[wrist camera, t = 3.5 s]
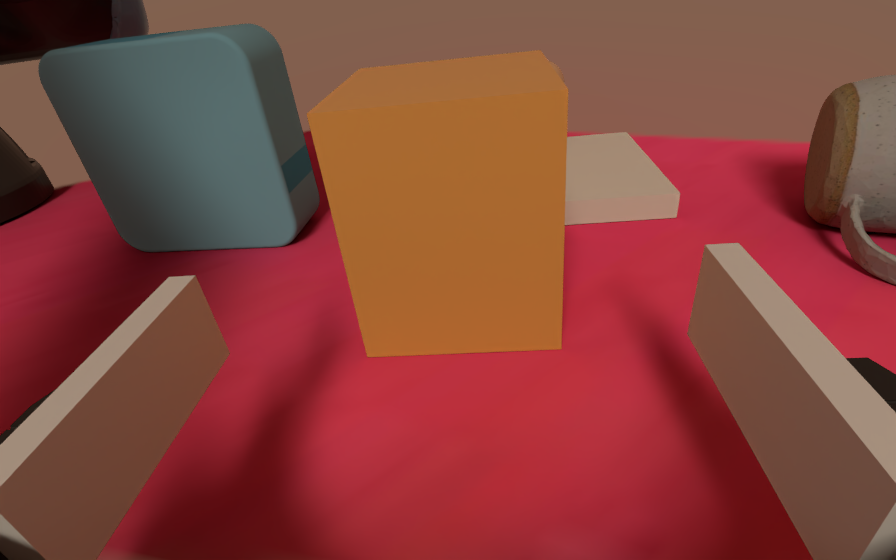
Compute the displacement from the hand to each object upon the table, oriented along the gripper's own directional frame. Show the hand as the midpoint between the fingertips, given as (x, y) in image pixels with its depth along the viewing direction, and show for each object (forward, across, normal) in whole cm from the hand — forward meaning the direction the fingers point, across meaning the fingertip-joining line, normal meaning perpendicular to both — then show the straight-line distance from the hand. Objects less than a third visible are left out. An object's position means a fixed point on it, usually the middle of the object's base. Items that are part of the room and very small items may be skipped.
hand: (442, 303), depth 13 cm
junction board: (+22, +3, -6) cm, 23 cm away
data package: (+18, -16, -6) cm, 25 cm away
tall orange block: (+9, 0, -6) cm, 11 cm away
